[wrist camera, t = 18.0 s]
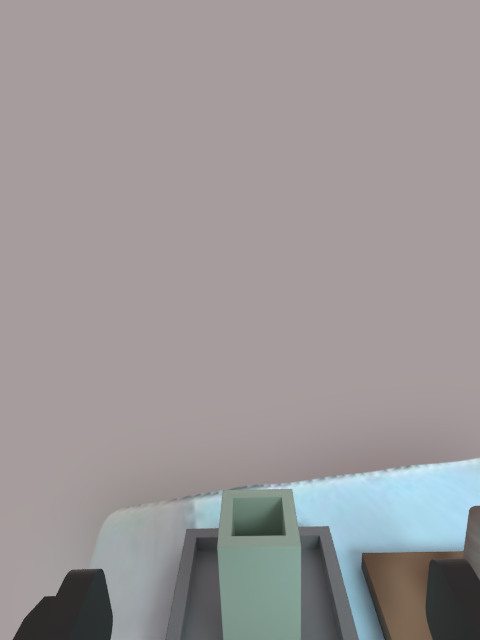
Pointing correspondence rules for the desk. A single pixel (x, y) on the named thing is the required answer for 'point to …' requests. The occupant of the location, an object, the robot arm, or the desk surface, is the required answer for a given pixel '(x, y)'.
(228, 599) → the sleeve
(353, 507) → the desk surface
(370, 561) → the board
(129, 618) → the desk surface
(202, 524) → the desk surface
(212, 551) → the grey tray
